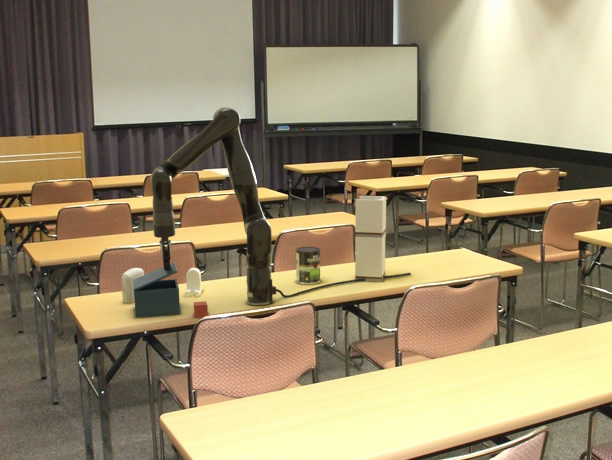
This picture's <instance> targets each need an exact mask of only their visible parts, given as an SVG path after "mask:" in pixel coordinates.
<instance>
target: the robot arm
mask: <svg viewBox="0 0 612 460" xmlns="http://www.w3.org/2000/svg"><path fill="white" fill-rule="evenodd" d="M213 114H214V115H213V117H212V121H210V123H209V124H208V125H207V126H206V127H205V128H204V129H203V130H202V131H201V132H200V133H198V134H197V135H195V136H194V137H193V138H192V139H190V140H189V141H187V142H186V143H184V144H183V145H181V147H179V148H178V149H177V150H176V151H174V153H173V154H171V156H170V157H169V158H168V159H166V160H165V161H163V162H162V163H161V164H159V165H158V166H157V167H156V168H154V169H153V171H152V172H151V174H150V180H151V181H150V183H151V191H152V225H153V236H154V237H155V238H159V239H160V240H159V242H158V243H159V247H160V253H161V257H162V265H163V266H162V267H164V270H165V271H169V270H170V264H171V254H172V247H171V246H172V241H171V239H169V238H171V237H175V236H176V224H175V223H176V222H175V214H174V204H173V203H174V202H173V195H172V194H173V193H172V192H173V190H172V187H173V185H172V184H173V183H172V181H173V180H174V178H176V177H177V176H178V175H180V174H181V173H184V172H185V171H186V170H187V169H188V168H190V167H191V166H192V165H193V164H194V163H195V162H196V161H198V159H199V158H200V157H202V156H203V155H204V154H205V153H206V152H207V151H208V150H209V149H211V148H212V147H213V146H214V145H215V144H216V143H218V142H220V143H221V145H222V149H223V153H224V159H225V160H224V161H225V165H226V169H227V173H228V176H229V181H230V184H231V186H232V189H233V192H234V196H235V197H236V200H237V202H238V204H239V207H240V212H241V216H242V222H243V227H244V232H245V235H246V253H245V265H246V266H245V267H246V304H248V305H249V306H258V307H259V306H266V305H269V304H270V305H271V304H273V303H274V299H273V298H274V297H273V295H277V293H278V294H280V295H281V297H283V298H293V297H296V296H299V295H302V294H305V293H309V292H312V291H315V290H319V289H323V288H329V287H332V286H338V285H343V284H349V283H356V282H357V283H358V282H366V281H365V280H366V279H356V280H355V279H350V280H342V281H338V282H332V283H328V284H327V283H326V284H324V285H319V286H316V287H311V288H308V289H304V290H301V291H297V292H295V293H293V294H284V293H283V291H282V290H280V289H278V288H277V287H276V286H275V285H273V278H272V260H271V259H272V257H271V256H272V246H273V245H272V242H273V241H272V239H273V238H272V227H271V224H270V223H269V222H268V220H267V219H266V217H265V215H264V212H263V210H262V207H261V204H260V200H259V190H258V183H257V178H256V173H255V171H254V167H253V163H252V162H251V159H250V156H249V154H248V152H247V150H246V148H245V145H244V144H243V141H242V136H241V132H240V124H241V117H240V116H241V115H240V114H239V113H238V112H237V110H235V109H234V108H232V107H226V106H225V107H220V108H218V109H216V111H215V112H214V113H213ZM410 275H412V273H411V272H405V273H399V274H392V275H385V276H383V278H384V279H391V278H399V277H405V276H410Z"/></svg>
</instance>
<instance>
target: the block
mask: <svg viewBox="0 0 612 460" xmlns="http://www.w3.org/2000/svg"><path fill="white" fill-rule="evenodd" d="M208 309H209V308H208V303H207V301H206V300H204V301H203V300H202V301H194V302H193V314H194V315H193V316H194V318H205V317H204V316H208V317H209V313H208V312H209V310H208Z"/></svg>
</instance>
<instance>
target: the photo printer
mask: <svg viewBox="0 0 612 460" xmlns="http://www.w3.org/2000/svg"><path fill="white" fill-rule="evenodd" d="M143 275H145V272H144V270H143V268H140V267H133V268H130V269H128V270H126V271H125V272H124V273H122V275H121V278H120V279H121V291H122V292H121V293H122V302H123V303H124V304H131V303H135V301H134V288H133V280H134V279H136V278H139V277H141V276H143Z"/></svg>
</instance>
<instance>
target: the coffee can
mask: <svg viewBox="0 0 612 460" xmlns="http://www.w3.org/2000/svg"><path fill="white" fill-rule="evenodd" d="M295 259H296V260H295V262H296V269H295V270H296V281H295V282H296V283H297V284H301V285H315V284H319V283H321V248H320V247H317V246H301V247H297V248H296V249H295Z"/></svg>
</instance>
